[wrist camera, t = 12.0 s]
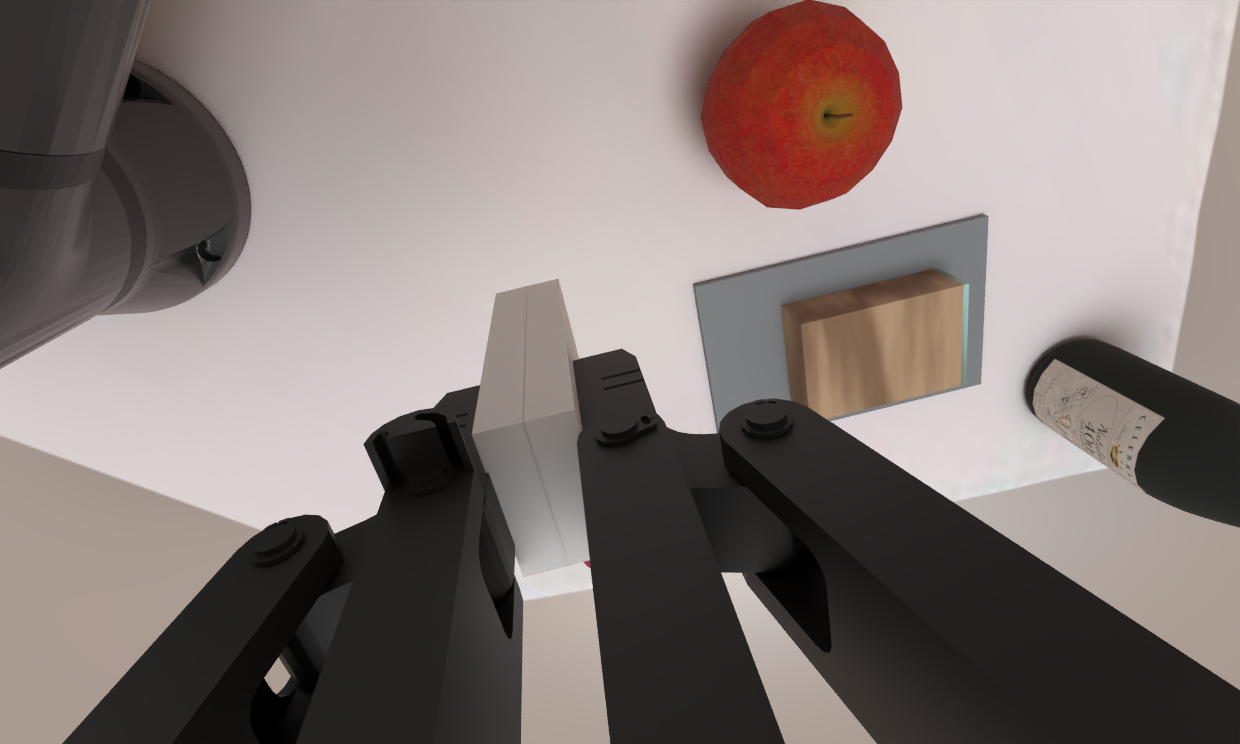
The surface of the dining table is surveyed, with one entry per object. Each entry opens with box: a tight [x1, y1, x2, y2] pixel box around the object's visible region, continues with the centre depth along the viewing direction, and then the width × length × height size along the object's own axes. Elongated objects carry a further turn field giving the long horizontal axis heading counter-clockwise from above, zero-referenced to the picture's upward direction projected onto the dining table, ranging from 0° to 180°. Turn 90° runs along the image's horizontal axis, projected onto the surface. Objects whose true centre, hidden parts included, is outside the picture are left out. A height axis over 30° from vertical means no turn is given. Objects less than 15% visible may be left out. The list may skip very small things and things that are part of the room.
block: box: [781, 268, 969, 419], centre depth 47 cm, size 4×8×12 cm
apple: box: [701, 0, 902, 210], centre depth 36 cm, size 10×10×14 cm
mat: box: [693, 215, 988, 434], centre depth 49 cm, size 22×14×1 cm, turn 102°
